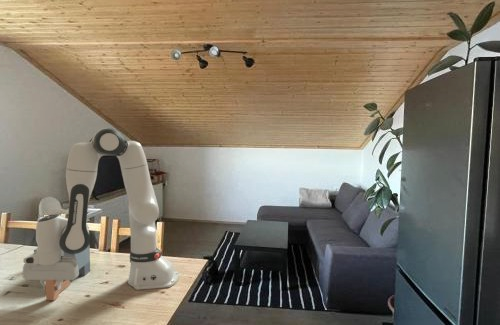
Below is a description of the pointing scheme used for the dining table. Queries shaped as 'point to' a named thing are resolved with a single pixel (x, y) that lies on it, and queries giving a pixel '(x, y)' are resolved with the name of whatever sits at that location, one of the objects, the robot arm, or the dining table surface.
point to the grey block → (81, 260)
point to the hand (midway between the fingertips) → (52, 289)
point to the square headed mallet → (50, 288)
